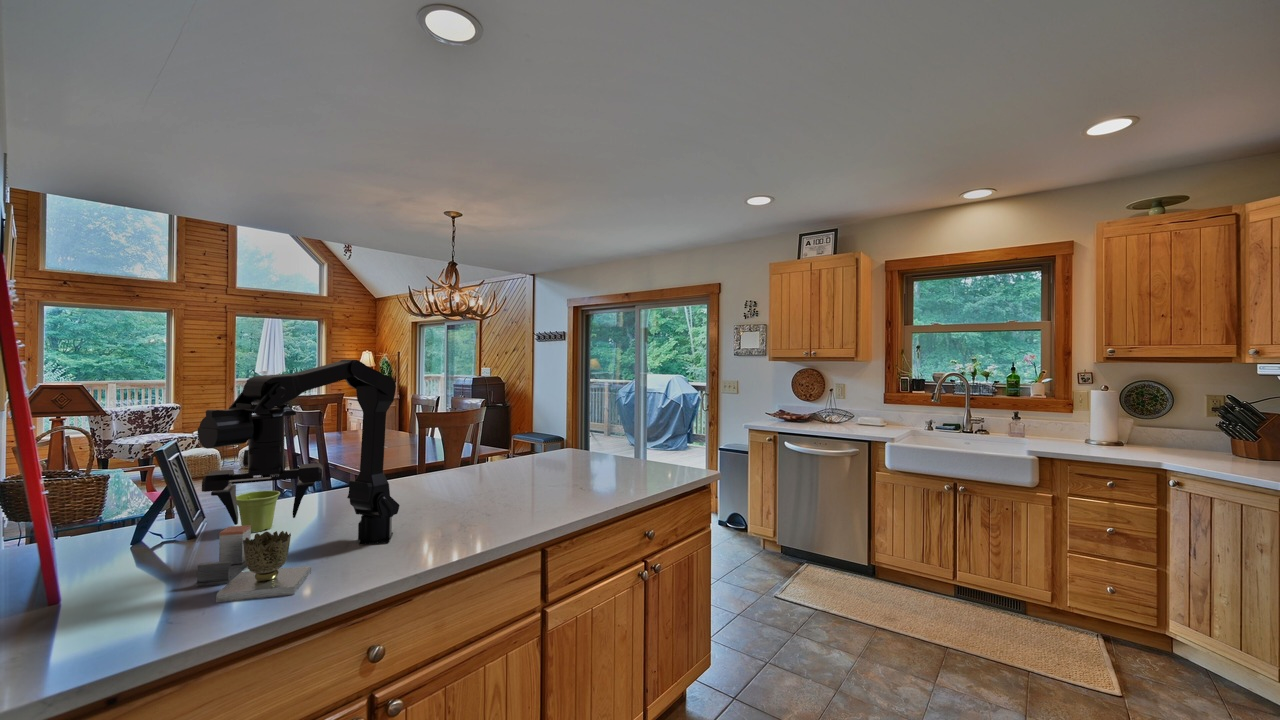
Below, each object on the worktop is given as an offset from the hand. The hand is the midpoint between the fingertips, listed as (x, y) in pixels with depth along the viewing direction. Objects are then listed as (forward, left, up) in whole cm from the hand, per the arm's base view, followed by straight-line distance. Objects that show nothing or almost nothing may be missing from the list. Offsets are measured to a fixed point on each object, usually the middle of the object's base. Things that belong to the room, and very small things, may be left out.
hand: (265, 520), depth 102 cm
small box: (+9, -10, -11) cm, 17 cm away
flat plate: (-1, +3, -12) cm, 12 cm away
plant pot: (+14, -36, -12) cm, 40 cm away
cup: (-1, +3, -11) cm, 11 cm away
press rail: (+9, -7, -12) cm, 16 cm away
